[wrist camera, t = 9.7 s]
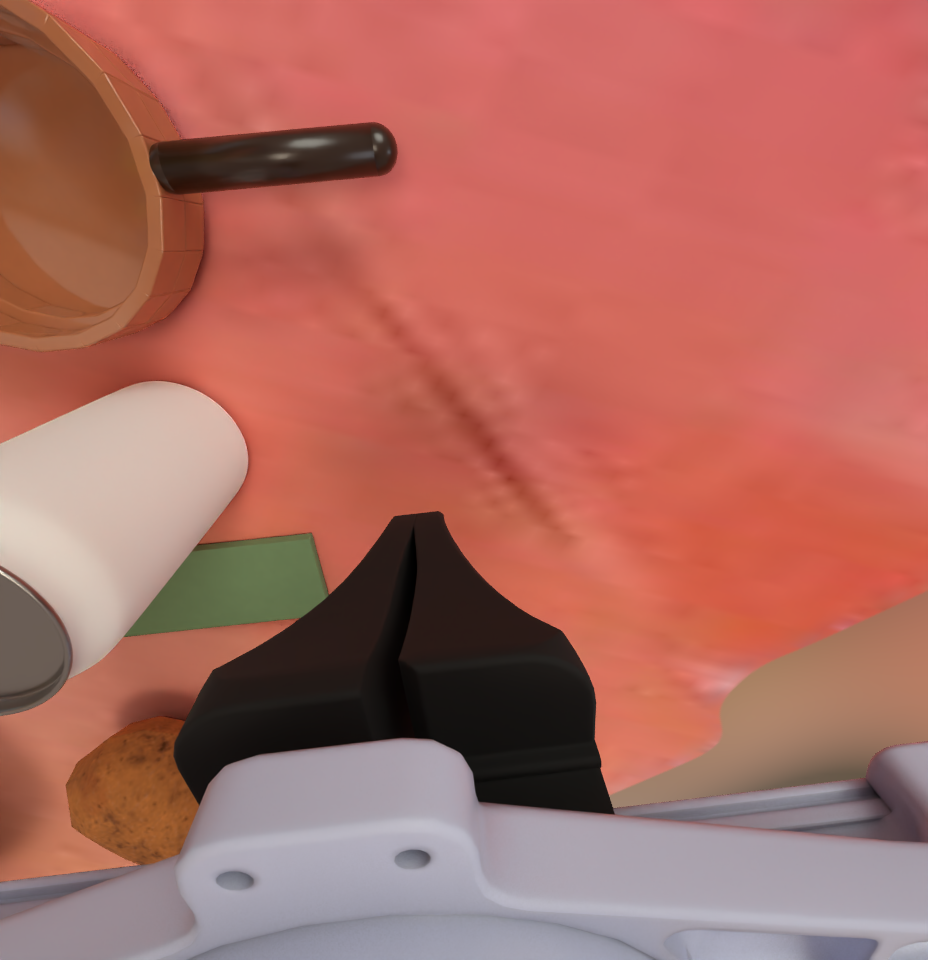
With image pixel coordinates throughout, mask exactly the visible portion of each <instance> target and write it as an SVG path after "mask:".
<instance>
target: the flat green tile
mask: <svg viewBox="0 0 928 960" xmlns="http://www.w3.org/2000/svg"><path fill="white" fill-rule="evenodd" d="M328 596H329V595H328V591H327V587H326V584H325V580H324V576H323V573H322V569H321V565H320V561H319V558H318V554H317V550H316V547H315V543H314V539H313V536H312V533H309V534H299V535H290V536H280V537H271V538H261V539H252V540H242V541H233V542H223V543H214V544H204V545H196V546H195V548H194V549H193V550H192V551H191V553H190V554H189V555H188V557H187V558H186V559H185V560H184V562H183V563H182V564H181V565H180V567H179V568H178V569H177V570H176V572H175V573H174V574H173V576H172V577H171V578H170V579H169V581H168V582H167V583H166V584H165V586H164V587H163V588H162V589H161V591H160V592H159V593H158V594H157V596H156V597H155V598H154V599H153V601H152V602H151V603H150V605H149V606H148V607H147V608H146V610H145V611H144V612H143V613H142V615H141V616H140V617H139V618H138V620H137V621H136V622H135V623H134V624H133V626H132V627H131V628H130V629H129V631H128V632H127V633H126V634H125V635H124V637H128V636H137V635H147V634H156V633H165V632H174V631H184V630H193V629H202V628H211V627H221V626H230V625H239V624H248V623H258V622H267V621H276V620H285V619H295V618H302V617H303V616H304V615H305V614H307V613H308V612H309V611H311V610H312V609H313V608H314V607H316V606H317V605H318V604H319V603H321V602H322V601H323V600H324V599H325V598H327V597H328Z"/></svg>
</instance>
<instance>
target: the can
mask: <svg viewBox="0 0 928 960" xmlns="http://www.w3.org/2000/svg"><path fill="white" fill-rule="evenodd" d="M247 470H248V452H247V447H246V443H245V440H244V438H243V436H242V433H241V431H240V430H239V428H238V426H237V425H236V423H235V422H234V420H233V419H232V418H231V416H230V415H229V414H228V413H227V412H226V411H225V410H224V409H223V408H222V407H221V406H220V405H219V404H217V403H216V402H215V401H213V400H212V399H211V398H209V397H208V396H206V395H204V394H203V393H201V392H199V391H197V390H195V389H192V388H190V387H187V386H184V385H181V384H177V383H172V382H166V381H147V382H141V383H137V384H133V385H130V386H128V387H125V388H123V389H120V390H118V391H116V392H113V393H111V394H109V395H107V396H104V397H102V398H100V399H98V400H95V401H93V402H91V403H89V404H87V405H84V406H82V407H80V408H78V409H76V410H73V411H71V412H69V413H67V414H65V415H62V416H60V417H58V418H56V419H54V420H51V421H49V422H47V423H45V424H43V425H40V426H38V427H36V428H34V429H32V430H29V431H27V432H25V433H23V434H21V435H19V436H16V437H14V438H12V439H10V440H8V441H5V442H3V443H1V444H0V716H3V715H10V714H15V713H19V712H23V711H26V710H29V709H32V708H34V707H36V706H38V705H40V704H42V703H44V702H46V701H47V700H49V699H50V698H51V697H53V696H54V695H55V694H56V693H57V692H58V691H59V690H60V689H61V688H62V686H63V685H64V684H65V682H66V680H68V679H70V678H72V677H74V676H76V675H78V674H80V673H82V672H83V671H85V670H87V669H89V668H90V667H92V666H93V665H95V664H96V663H98V662H99V661H101V660H102V659H103V658H104V657H105V656H106V655H107V654H108V653H109V652H110V651H111V650H112V649H113V648H114V647H115V646H116V645H117V644H118V643H119V641H120V640H121V639H122V638H123V637H124V635H125V634H126V633H127V632H128V631H129V629H130V628H131V627H132V626H133V624H134V623H135V622H136V621H137V620H138V618H139V617H140V616H141V615H142V613H143V612H144V611H145V610H146V608H147V607H148V606H149V605H150V603H151V602H152V601H153V599H154V598H155V597H156V596H157V594H158V593H159V592H160V591H161V589H162V588H163V587H164V586H165V584H166V583H167V582H168V581H169V579H170V578H171V577H172V576H173V574H174V573H175V572H176V570H177V569H178V568H179V567H180V565H181V564H182V563H183V562H184V560H185V559H186V558H187V557H188V555H189V554H190V553H191V551H192V550H193V549H194V548H195V546H196V545H197V544H198V543H199V541H200V540H201V539H202V537H203V536H204V535H205V534H206V532H207V531H208V530H209V529H210V527H211V526H212V525H213V523H214V522H215V521H216V520H217V518H218V517H219V516H220V514H221V513H222V512H223V511H224V509H225V508H226V507H227V505H228V504H229V503H230V502H231V500H232V499H233V498H234V496H235V495H236V493H237V492H238V491H239V489H240V488H241V486H242V484H243V482H244V480H245V477H246V474H247Z"/></svg>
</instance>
